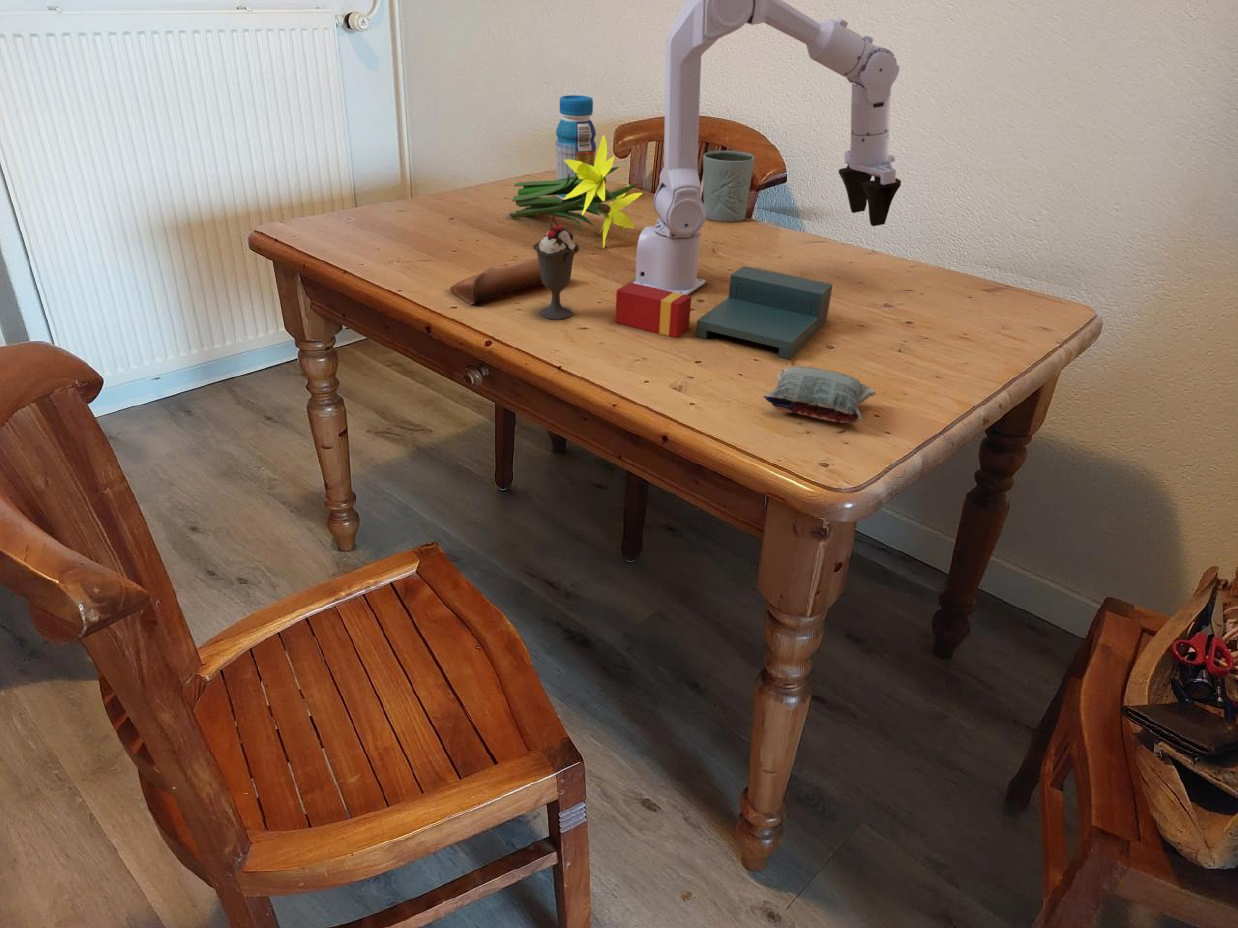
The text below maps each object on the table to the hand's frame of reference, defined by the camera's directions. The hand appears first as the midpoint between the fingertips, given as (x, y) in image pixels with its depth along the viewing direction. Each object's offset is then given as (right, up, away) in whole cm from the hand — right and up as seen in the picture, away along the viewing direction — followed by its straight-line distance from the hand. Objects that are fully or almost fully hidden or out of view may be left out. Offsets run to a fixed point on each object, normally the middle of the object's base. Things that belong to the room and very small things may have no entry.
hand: (867, 218), depth 141 cm
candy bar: (-36, -20, -15) cm, 43 cm away
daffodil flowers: (-51, +3, +23) cm, 56 cm away
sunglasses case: (-58, -12, -3) cm, 59 cm away
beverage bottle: (-50, +17, +45) cm, 69 cm away
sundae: (-50, -18, -12) cm, 54 cm away
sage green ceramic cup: (-19, +11, +37) cm, 43 cm away
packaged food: (-16, -33, -36) cm, 52 cm away
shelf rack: (-20, -20, -15) cm, 32 cm away
